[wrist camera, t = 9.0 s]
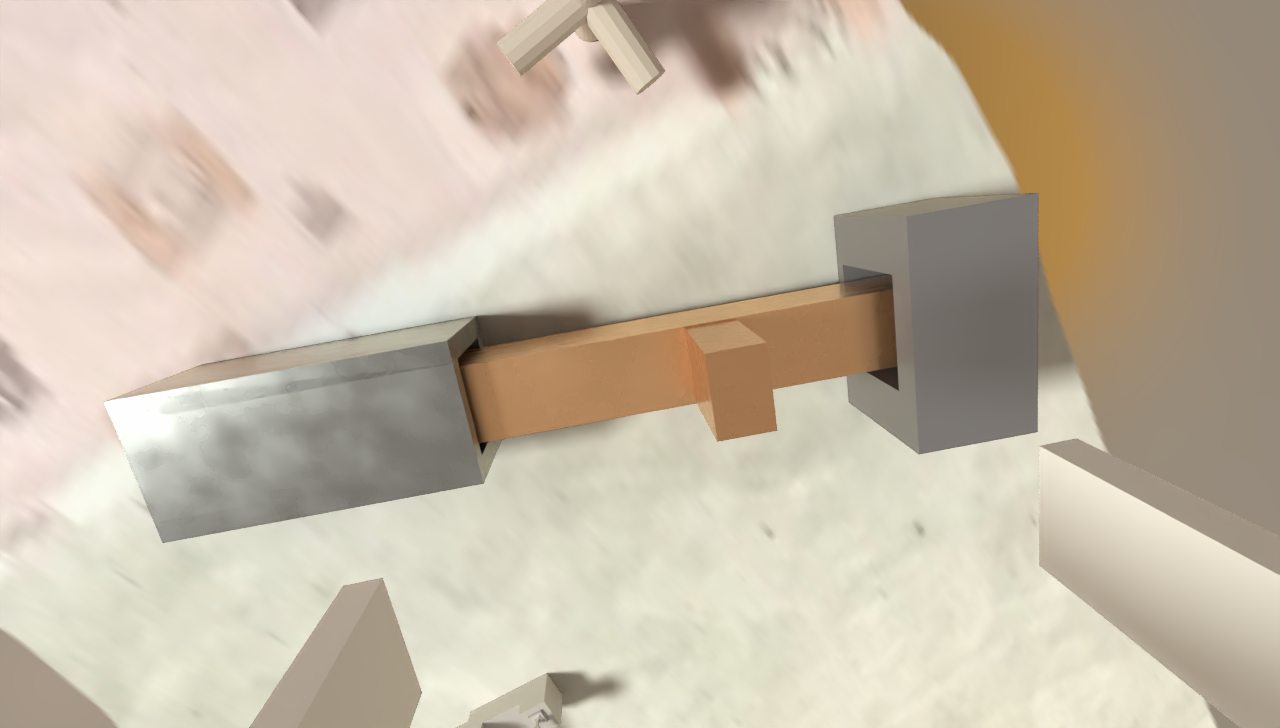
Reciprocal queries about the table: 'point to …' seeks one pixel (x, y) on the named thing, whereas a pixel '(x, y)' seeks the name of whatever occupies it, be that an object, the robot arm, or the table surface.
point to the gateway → (521, 707)
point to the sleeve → (304, 431)
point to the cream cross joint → (583, 38)
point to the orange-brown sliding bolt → (684, 362)
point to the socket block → (951, 317)
